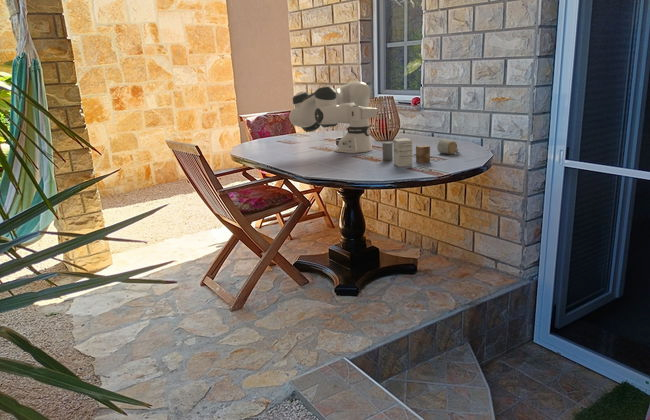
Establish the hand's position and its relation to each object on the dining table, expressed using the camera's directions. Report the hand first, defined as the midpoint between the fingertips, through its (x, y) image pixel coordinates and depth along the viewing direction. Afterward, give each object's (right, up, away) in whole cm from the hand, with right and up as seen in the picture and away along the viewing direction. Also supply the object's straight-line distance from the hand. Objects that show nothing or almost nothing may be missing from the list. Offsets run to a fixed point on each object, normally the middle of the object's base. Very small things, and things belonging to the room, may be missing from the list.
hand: (377, 109), depth 235 cm
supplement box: (+14, -25, +12) cm, 31 cm away
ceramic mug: (+42, -17, +32) cm, 55 cm away
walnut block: (+24, -23, +16) cm, 37 cm away
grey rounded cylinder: (+8, -21, +25) cm, 34 cm away
